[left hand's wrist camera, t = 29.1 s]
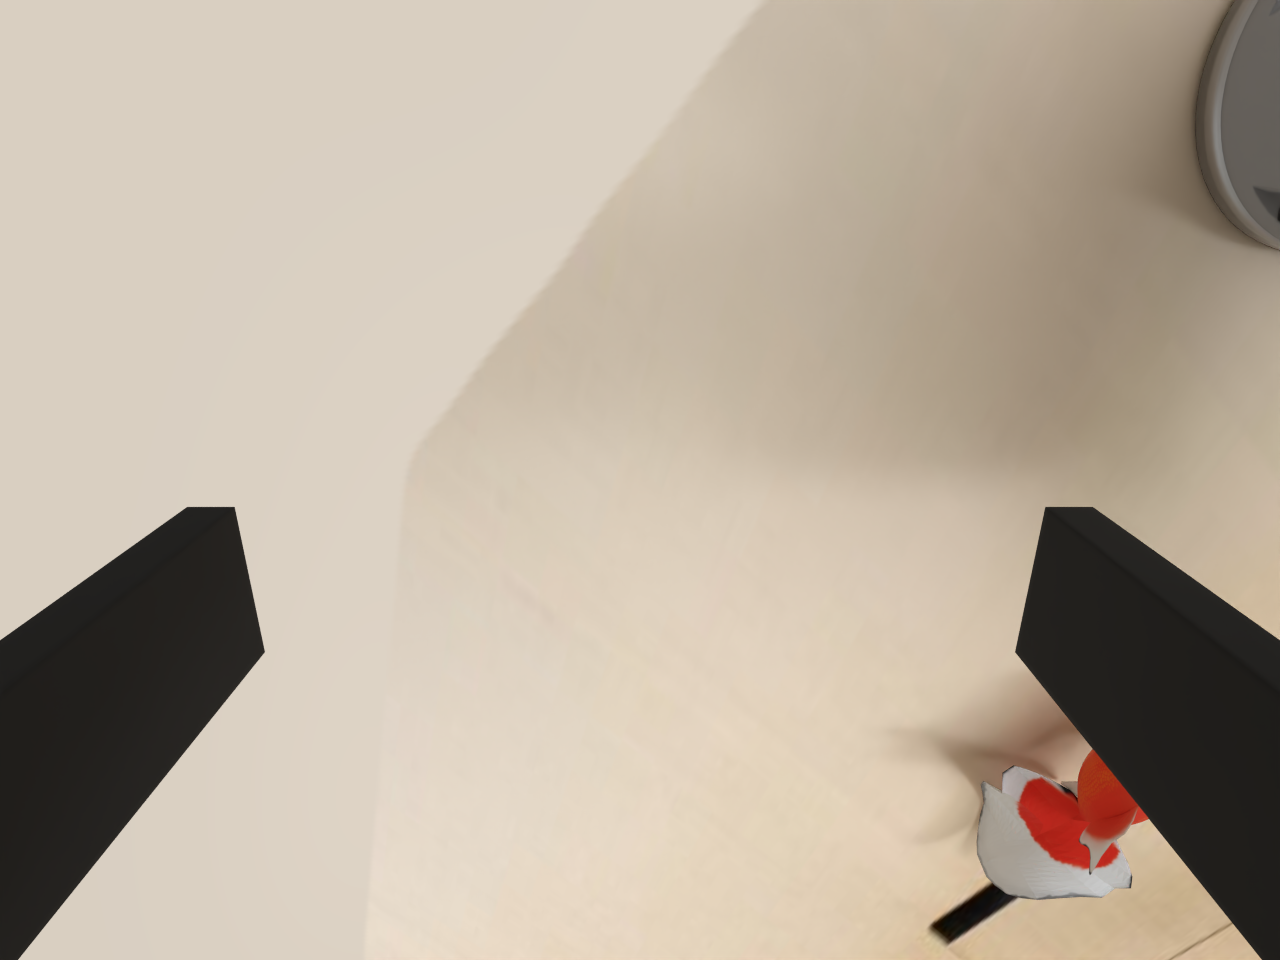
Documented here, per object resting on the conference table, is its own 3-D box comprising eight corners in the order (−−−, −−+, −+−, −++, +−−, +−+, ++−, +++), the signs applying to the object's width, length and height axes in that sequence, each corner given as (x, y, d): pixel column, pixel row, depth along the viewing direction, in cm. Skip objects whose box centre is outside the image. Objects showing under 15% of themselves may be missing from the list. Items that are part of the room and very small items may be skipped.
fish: (1281, 814, 44) (1307, 954, 36) (1019, 848, 54) (996, 964, 46) (1180, 656, 44) (1185, 762, 36) (937, 718, 54) (900, 812, 46)
